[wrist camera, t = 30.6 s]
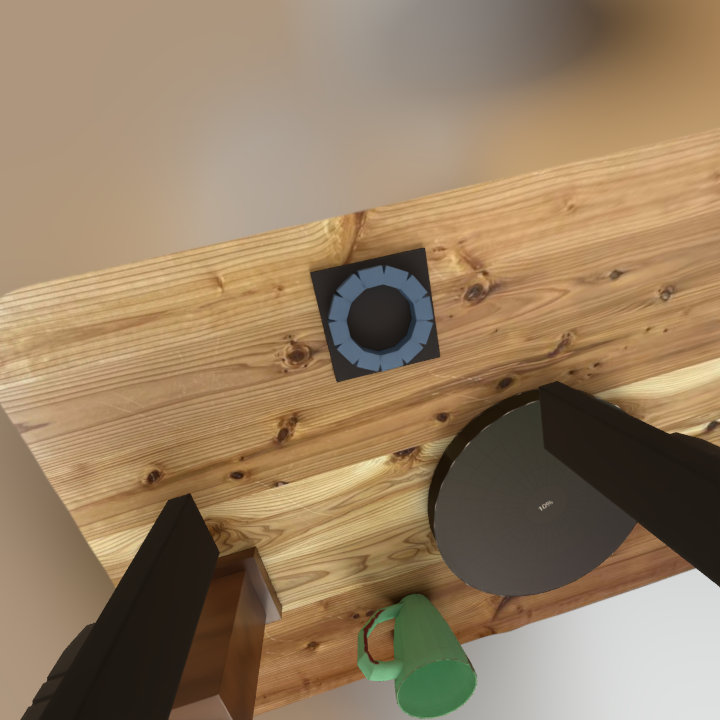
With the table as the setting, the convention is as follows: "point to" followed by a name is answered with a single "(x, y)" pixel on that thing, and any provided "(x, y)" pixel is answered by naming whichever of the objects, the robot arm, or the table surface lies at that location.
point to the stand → (228, 642)
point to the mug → (420, 659)
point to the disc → (518, 507)
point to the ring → (417, 328)
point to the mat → (375, 310)
